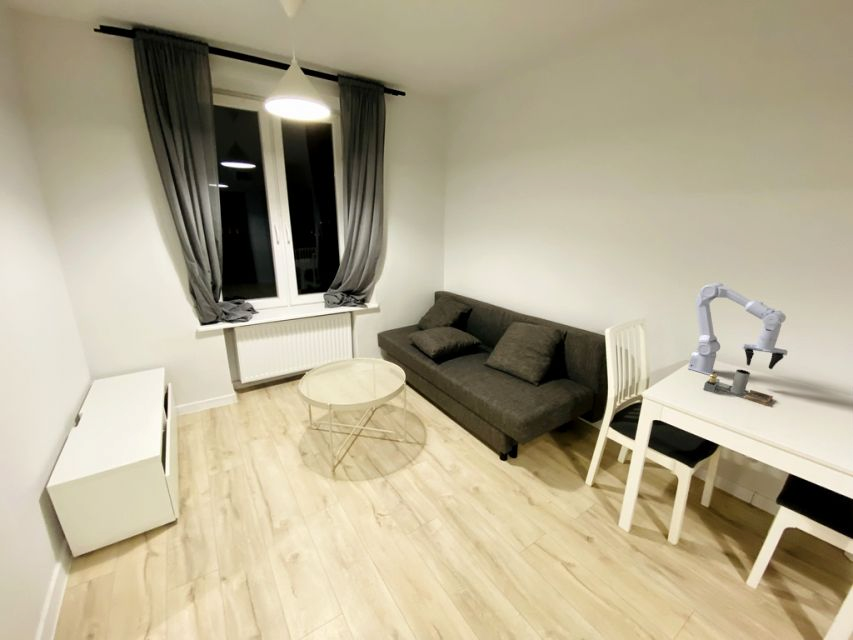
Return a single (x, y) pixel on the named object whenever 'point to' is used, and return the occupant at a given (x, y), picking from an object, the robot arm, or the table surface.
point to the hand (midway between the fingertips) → (758, 366)
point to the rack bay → (759, 399)
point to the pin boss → (710, 387)
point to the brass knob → (712, 378)
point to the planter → (740, 382)
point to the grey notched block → (722, 385)
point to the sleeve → (732, 392)
